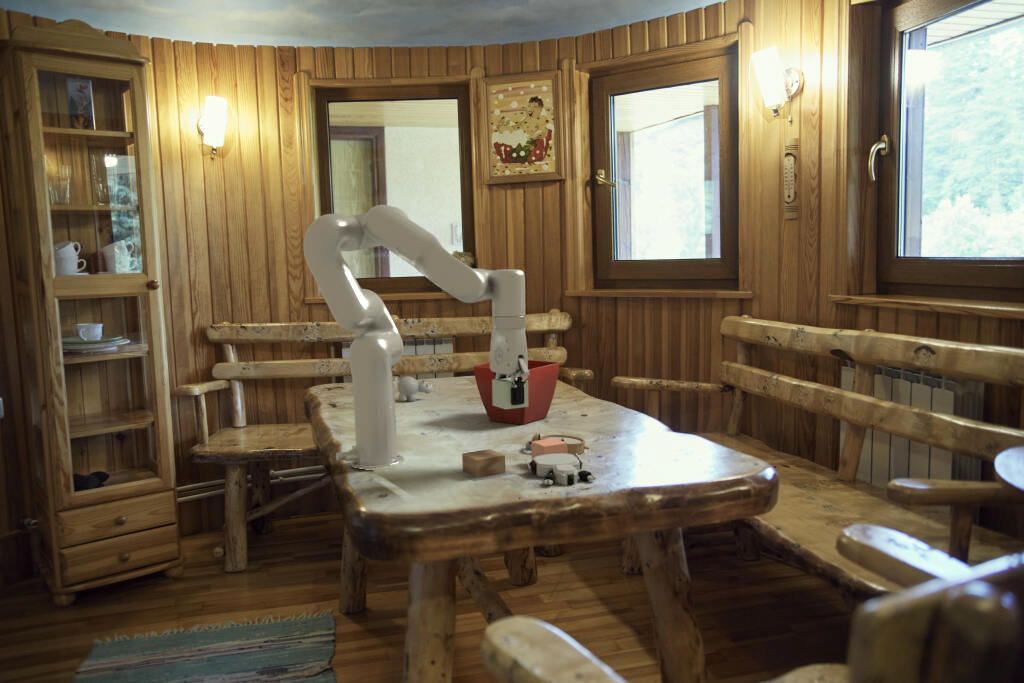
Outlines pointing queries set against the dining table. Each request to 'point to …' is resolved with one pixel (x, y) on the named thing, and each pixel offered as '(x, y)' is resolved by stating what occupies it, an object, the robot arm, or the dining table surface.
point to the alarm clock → (572, 442)
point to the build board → (481, 477)
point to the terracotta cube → (548, 447)
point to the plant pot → (538, 392)
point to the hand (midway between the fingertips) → (510, 401)
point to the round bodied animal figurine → (411, 388)
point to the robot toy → (559, 469)
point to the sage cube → (506, 393)
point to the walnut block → (483, 463)
